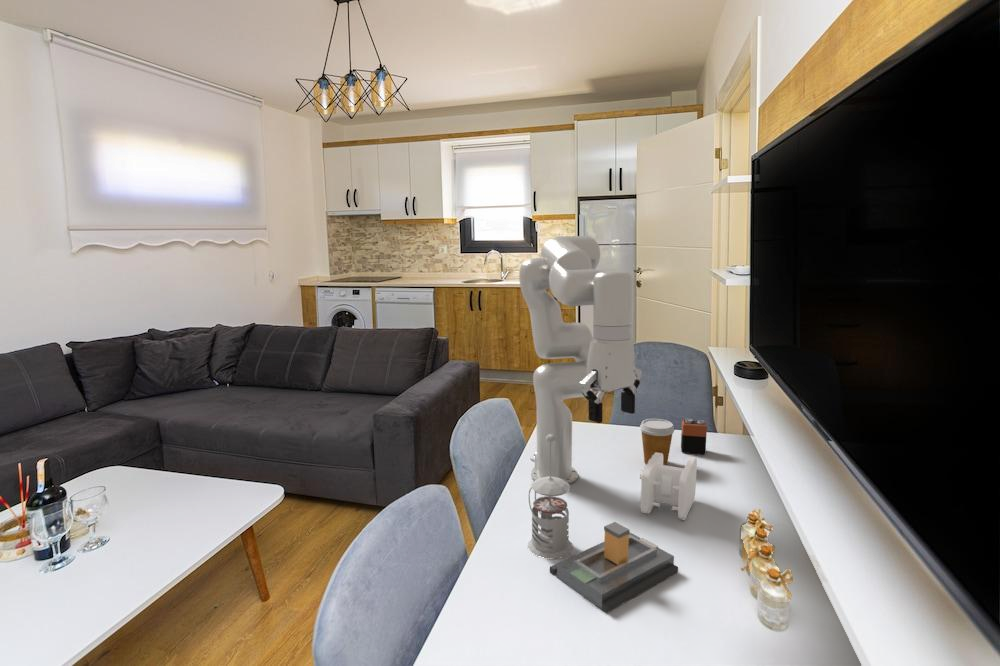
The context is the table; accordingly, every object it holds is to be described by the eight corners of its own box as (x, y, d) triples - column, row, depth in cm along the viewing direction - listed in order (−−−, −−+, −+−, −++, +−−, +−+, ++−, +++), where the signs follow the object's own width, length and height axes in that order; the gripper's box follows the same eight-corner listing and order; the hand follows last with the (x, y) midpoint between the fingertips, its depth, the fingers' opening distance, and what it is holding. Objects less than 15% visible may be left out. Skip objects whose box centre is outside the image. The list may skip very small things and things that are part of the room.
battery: (680, 448, 175) (682, 416, 174) (703, 449, 174) (705, 418, 172) (681, 453, 171) (683, 421, 169) (705, 455, 170) (707, 423, 168)
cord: (549, 572, 113) (549, 566, 112) (619, 539, 124) (619, 534, 124) (553, 575, 112) (553, 569, 111) (623, 541, 123) (623, 536, 123)
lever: (603, 556, 112) (604, 526, 111) (614, 551, 114) (614, 521, 113) (618, 565, 109) (618, 534, 108) (628, 560, 111) (629, 529, 110)
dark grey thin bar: (601, 609, 101) (601, 603, 101) (672, 569, 113) (673, 564, 113) (606, 613, 101) (606, 606, 100) (677, 572, 112) (678, 567, 112)
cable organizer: (684, 527, 129) (686, 479, 127) (637, 516, 134) (639, 470, 132) (695, 499, 142) (698, 455, 140) (653, 491, 147) (654, 448, 145)
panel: (556, 577, 111) (556, 559, 110) (627, 543, 123) (628, 526, 122) (601, 610, 101) (601, 589, 101) (674, 569, 113) (674, 551, 112)
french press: (545, 564, 115) (545, 447, 111) (513, 538, 125) (512, 430, 121) (582, 549, 121) (584, 437, 116) (549, 526, 130) (549, 421, 126)
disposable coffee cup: (676, 461, 166) (678, 421, 163) (667, 472, 158) (669, 431, 155) (644, 454, 171) (646, 416, 168) (633, 465, 163) (635, 425, 160)
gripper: (626, 327, 122) (625, 405, 124) (567, 336, 111) (568, 421, 114) (655, 330, 116) (654, 412, 118) (596, 340, 106) (596, 429, 108)
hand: (612, 416), depth 116 cm, fingers open, 9 cm apart
